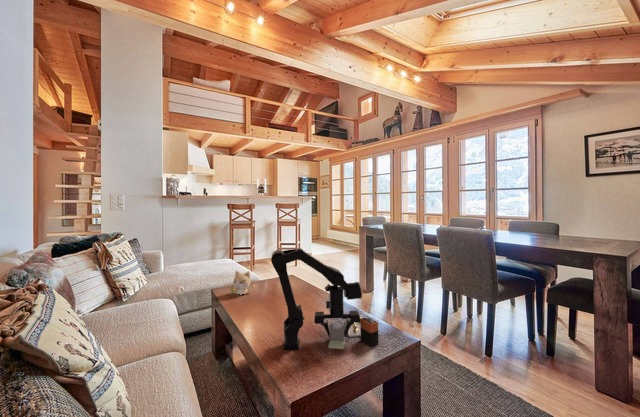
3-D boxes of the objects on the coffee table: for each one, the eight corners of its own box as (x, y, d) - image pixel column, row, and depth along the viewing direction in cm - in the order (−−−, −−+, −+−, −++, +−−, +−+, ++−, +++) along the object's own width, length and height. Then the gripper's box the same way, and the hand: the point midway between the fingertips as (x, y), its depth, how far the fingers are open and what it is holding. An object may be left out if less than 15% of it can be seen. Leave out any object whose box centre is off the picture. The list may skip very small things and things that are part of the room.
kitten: (226, 296, 169) (226, 272, 169) (236, 290, 179) (235, 268, 179) (247, 297, 165) (246, 273, 165) (256, 292, 175) (255, 269, 174)
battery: (368, 337, 114) (367, 313, 114) (379, 344, 108) (378, 320, 108) (360, 339, 112) (359, 316, 112) (370, 347, 106) (370, 322, 106)
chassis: (371, 336, 115) (371, 328, 115) (348, 336, 115) (348, 328, 115) (366, 321, 129) (366, 314, 129) (345, 322, 129) (345, 314, 129)
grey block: (343, 349, 106) (343, 334, 105) (328, 348, 106) (328, 333, 106) (345, 334, 117) (345, 320, 117) (332, 333, 118) (331, 319, 118)
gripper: (356, 293, 119) (356, 327, 120) (314, 294, 120) (315, 328, 120) (359, 302, 108) (360, 340, 109) (314, 303, 108) (315, 341, 109)
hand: (337, 337), depth 112 cm, fingers closed on grey block, 6 cm apart
